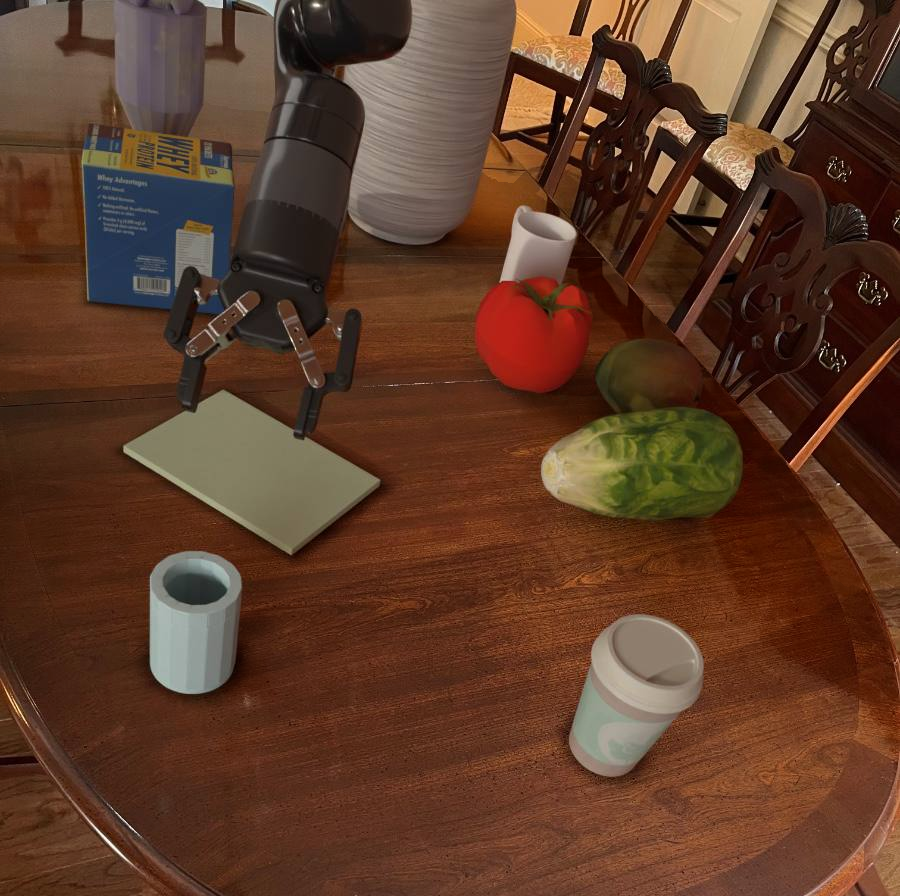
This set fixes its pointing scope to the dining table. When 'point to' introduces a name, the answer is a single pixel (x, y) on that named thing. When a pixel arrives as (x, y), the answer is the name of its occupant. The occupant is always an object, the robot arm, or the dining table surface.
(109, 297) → the protein box
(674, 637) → the coffee cup
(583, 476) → the lettuce
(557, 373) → the tomato
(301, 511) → the mat
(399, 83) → the vase
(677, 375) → the fruit
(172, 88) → the decorative object
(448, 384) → the dining table surface
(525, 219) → the mug
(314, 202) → the robot arm
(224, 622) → the cylindrical container
